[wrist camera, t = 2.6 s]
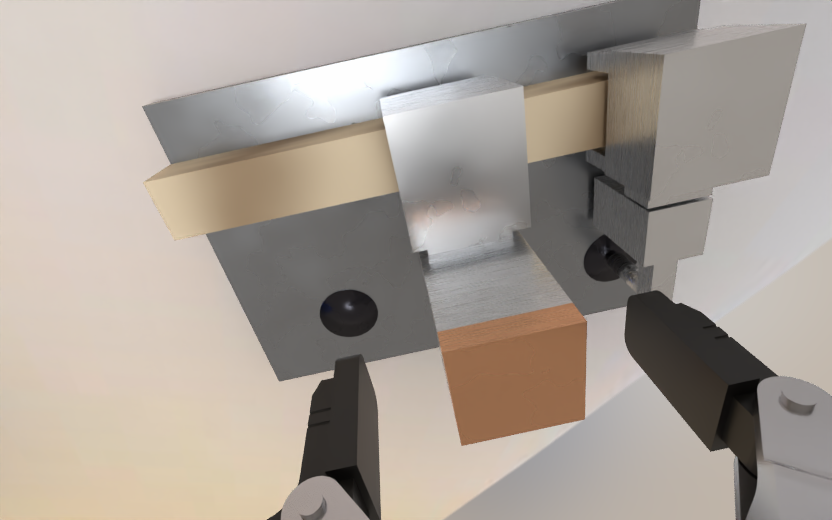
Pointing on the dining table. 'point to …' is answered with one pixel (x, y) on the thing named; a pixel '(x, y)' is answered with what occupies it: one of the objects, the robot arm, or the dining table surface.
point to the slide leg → (485, 258)
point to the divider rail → (350, 163)
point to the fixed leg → (684, 137)
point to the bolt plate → (383, 215)
